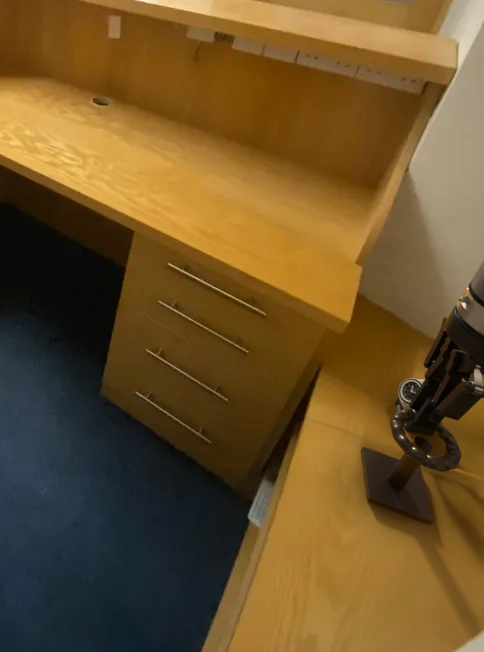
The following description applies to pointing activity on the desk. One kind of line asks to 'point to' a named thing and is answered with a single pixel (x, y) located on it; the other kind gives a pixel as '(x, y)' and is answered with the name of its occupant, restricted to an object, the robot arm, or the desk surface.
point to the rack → (397, 482)
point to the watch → (405, 397)
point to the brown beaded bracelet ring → (438, 464)
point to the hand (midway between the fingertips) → (420, 417)
